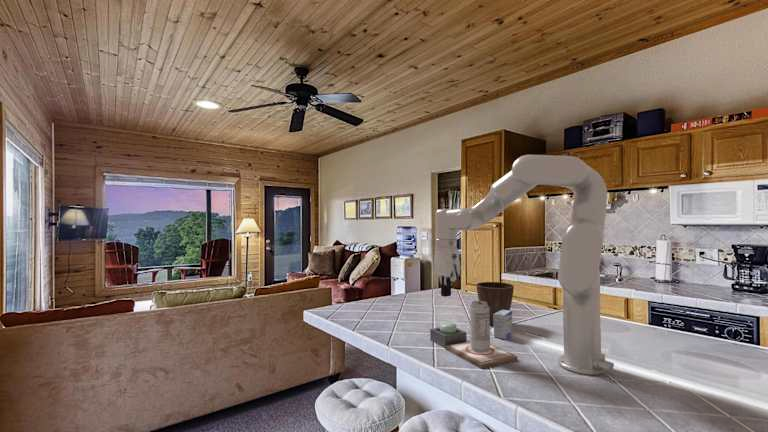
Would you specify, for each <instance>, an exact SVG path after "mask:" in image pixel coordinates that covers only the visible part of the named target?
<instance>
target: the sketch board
mask: <svg viewBox="0 0 768 432" xmlns="http://www.w3.org/2000/svg"><path fill="white" fill-rule="evenodd" d="M445 350H446V351H448V352H450V353H452V354H454V355H455V356H457V357H459V358H460V359H462V360H465V362H468V363H470V364H472V365H473V366H475V367H478V369H485V368H490V367H494V366H498V365H503V364H508V363H511V362H517V361H518V356H517V355H516V354H514V353H511V352H509V351H506V350H504V349H502V348H500V347H497V346H495V345H494V344H493V345H492V344H491V343H490V348H489V349H488V351H487V352H476V351H474V350H473V349H472V347H471V340H467V341H466V342H461V343H456V344H451V345H446V346H445Z"/></svg>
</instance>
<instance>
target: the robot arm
mask: <svg viewBox="0 0 768 432" xmlns="http://www.w3.org/2000/svg"><path fill="white" fill-rule="evenodd" d="M538 185H540V186H542V185H543V186H556V187H564V188H566V189H569V190H571V191H572V193H573V202H572V208H571V209H572V211H571V217H570V218H571V219H570V224H569V225H568V226H567V227H566V228H565V230H564V232H563V235H562V239H561V241H562V242H561V247H560V255H559V262H558V263H559V264H558V269H557V270H558V271H557V278H558V282H559V284H560V287H562V289H563V290H562V291H563V292H562V319H563V321H562V322H563V324H562V325H563V327H562V328H563V355H560V356H559V357H558V359H557V360H558V364H559V366H560V367H562V369H563V368H564V369H565V370H568V371H571V372H572V373H573V372H574V373H577V374H582V375H590V376H591V375H594V376H596V375H603V374H605V373H607V372H608V373H612V372H613V371H614V367H615V364H614V362H612V361H610V360H606V354H604V353H602V337H601V336H602V335H601V333H602V332H601V327H602V326H601V273H600V265H601V256H602V249H603V244H604V242H605V222H606V216H607V215H606V214H607V203H608V188H607V185H606V182H605V180H604V179H603V177H602V175H601V174H600V173H599V172H598V171H596V170H595V169H594V168H592V167H591V166H589V165H587V164H586V162H585V161H583V160H582V159H580V158H579V157H577V156H573V155H552V154H551V155H546V154H545V155H544V154H525V155H520V157H518V158H517V159H516V160H514V162H513V164H512V166H511V170H510V171H509V172H507V173H505V174H504V175H503V176H502V177H500V178H499V179H498V180H496V181H495V182H494V183H492V185H491V187H490V189H489V191H488V194H486V196H485V197H484V198H483V199H482V200H481V201H480V202H478V203H477V204H476V205H474V206H473V207H471V208H469V207H468V208H467V207H465V208H457V209H454V208H453V209H451V208H448V209H447V208H445V209H444V208H443V209H442V208H439V209H437V210H436V211H435V219H434V222H435V224H434V225H435V226H434V227H435V228H434V229H435V235H434V237H435V242H434V244H435V249H434V260H433V269H434V274H435V276H436V278H438V279H439V284H440V296H442V297H451V295H452V285H453V282H456V281H457V277H460V275H461V262H460V253H459V249H458V247H457V246H458V231H470V230H471V231H472V230H473V231H475V230H478V229H480V228H481V227H483V226H484V225H486V224H487V223H489V222H490V221H492V220H493V219H494V218H495V217H497V216H498V215H499V214H500V213H501V212H503V211H505V210H506V208H508V206H510V205H511V204H512V203H515V201H517V200H519V199H520V198H521V197H522V196H524V195H525V194H527V193H528V192H530V191H531V190H532V189H534V188H535V187H537V186H538Z"/></svg>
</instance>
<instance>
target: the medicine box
mask: <svg viewBox="0 0 768 432" xmlns="http://www.w3.org/2000/svg"><path fill="white" fill-rule="evenodd" d="M493 322H494V326H493V337H494V338H496V339H497V338H498V339H502V340H507V339H508V338H509V337H510V336H511V335H512V334H513V333H512V332H513V311H512V310H510V311H509V310H500V311H498V312H496V313H495V314H493ZM511 333H512V334H511Z"/></svg>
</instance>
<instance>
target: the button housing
mask: <svg viewBox="0 0 768 432" xmlns="http://www.w3.org/2000/svg"><path fill="white" fill-rule="evenodd" d="M429 334H430V335H429V336H430V338H429V339H430V341H432V342H433V343H435V344H436V345H438V346H441V347H443V348H445V346H446V345H451V344H456V343H461V342H466V341H468V340H467V331H464V330H462V329H461V328H460V329H459V328H457V327H456V333H451V334H443V333H441V332H440V326H439V327H434V328H430V332H429Z"/></svg>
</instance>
